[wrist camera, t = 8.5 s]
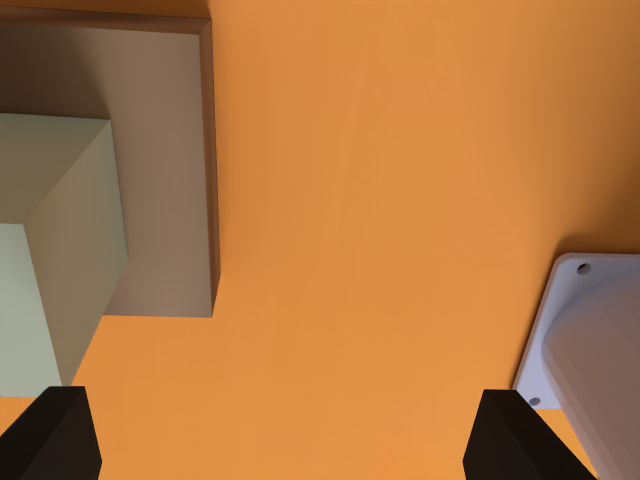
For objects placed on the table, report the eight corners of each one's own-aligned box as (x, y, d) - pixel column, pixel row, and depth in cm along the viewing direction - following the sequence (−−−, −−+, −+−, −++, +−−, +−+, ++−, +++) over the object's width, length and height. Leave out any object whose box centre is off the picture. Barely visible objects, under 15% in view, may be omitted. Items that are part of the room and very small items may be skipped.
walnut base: (213, 16, 16) (198, 35, 13) (221, 267, 21) (211, 317, 18) (-106, -5, 15) (-185, 11, 13) (-24, 260, 20) (-71, 310, 17)
